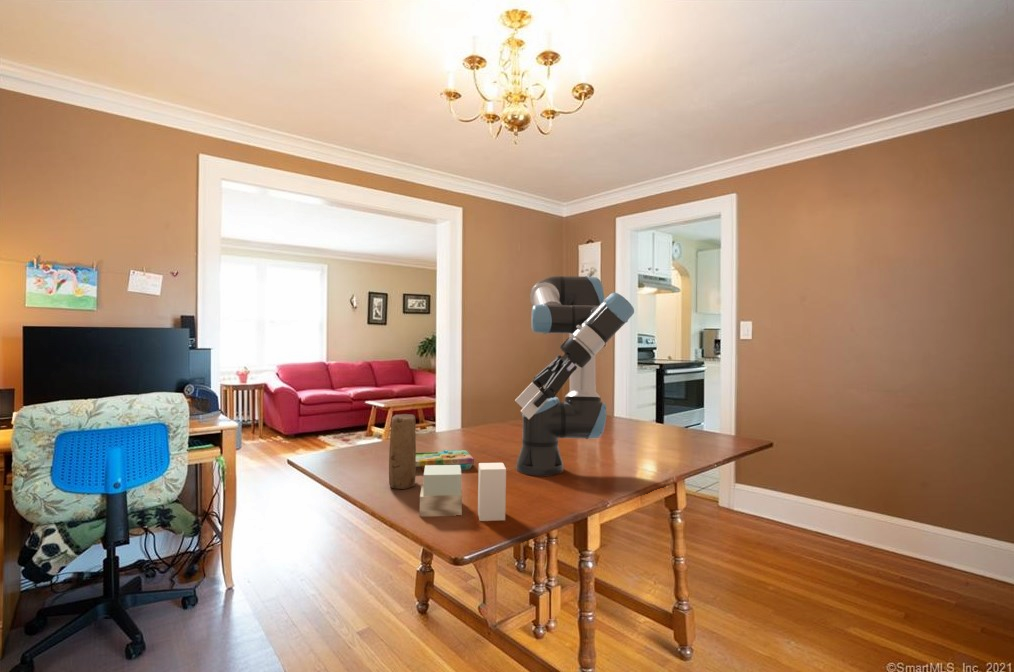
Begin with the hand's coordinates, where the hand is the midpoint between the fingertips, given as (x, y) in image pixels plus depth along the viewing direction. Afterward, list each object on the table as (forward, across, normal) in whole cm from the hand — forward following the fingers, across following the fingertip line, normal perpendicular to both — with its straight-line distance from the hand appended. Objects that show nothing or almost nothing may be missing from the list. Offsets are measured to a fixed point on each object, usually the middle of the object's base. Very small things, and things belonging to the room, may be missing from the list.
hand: (521, 409), depth 121 cm
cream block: (+23, +2, +12) cm, 26 cm away
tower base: (+32, -3, +3) cm, 32 cm away
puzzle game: (+35, -43, +3) cm, 56 cm away
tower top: (+28, -3, 0) cm, 28 cm away
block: (+41, -23, -5) cm, 48 cm away
